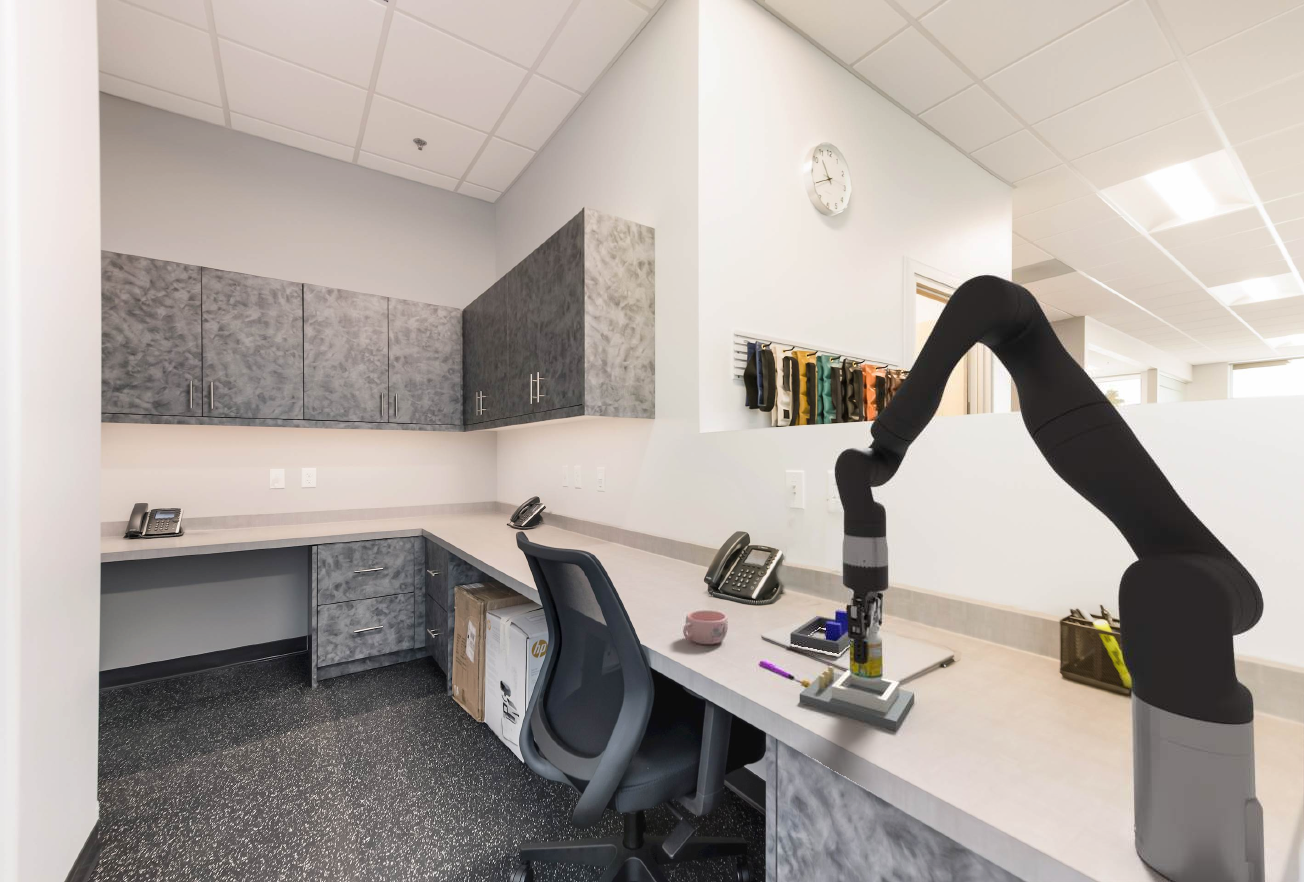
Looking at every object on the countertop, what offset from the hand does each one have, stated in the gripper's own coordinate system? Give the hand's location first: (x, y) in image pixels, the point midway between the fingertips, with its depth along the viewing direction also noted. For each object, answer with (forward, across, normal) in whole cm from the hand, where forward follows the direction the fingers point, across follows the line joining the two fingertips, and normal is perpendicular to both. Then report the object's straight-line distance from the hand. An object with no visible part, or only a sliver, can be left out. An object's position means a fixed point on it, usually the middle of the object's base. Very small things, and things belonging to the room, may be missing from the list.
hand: (865, 656), depth 94 cm
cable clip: (+9, +29, +15) cm, 34 cm away
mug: (+9, +10, +40) cm, 42 cm away
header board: (+8, 0, +2) cm, 9 cm away
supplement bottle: (+4, 0, 0) cm, 4 cm away
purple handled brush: (+9, +3, +15) cm, 18 cm away
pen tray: (+8, +28, +17) cm, 33 cm away
